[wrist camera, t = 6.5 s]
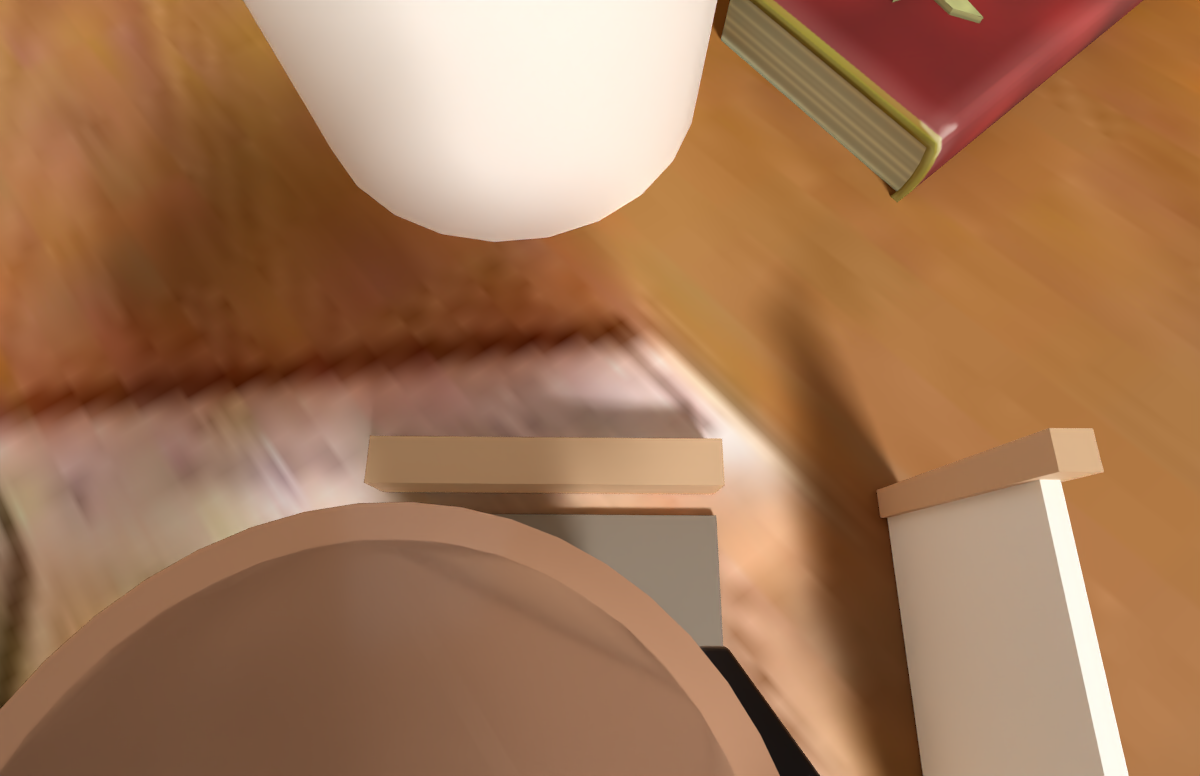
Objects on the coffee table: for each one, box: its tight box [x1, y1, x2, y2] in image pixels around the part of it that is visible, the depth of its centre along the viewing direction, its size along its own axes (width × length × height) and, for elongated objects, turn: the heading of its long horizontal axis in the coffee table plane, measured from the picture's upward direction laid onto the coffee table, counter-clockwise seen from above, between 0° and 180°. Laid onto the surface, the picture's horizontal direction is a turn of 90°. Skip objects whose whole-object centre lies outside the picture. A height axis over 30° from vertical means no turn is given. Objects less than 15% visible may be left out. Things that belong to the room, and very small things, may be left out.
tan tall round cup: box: [0, 502, 780, 776], centre depth 10 cm, size 7×7×13 cm
